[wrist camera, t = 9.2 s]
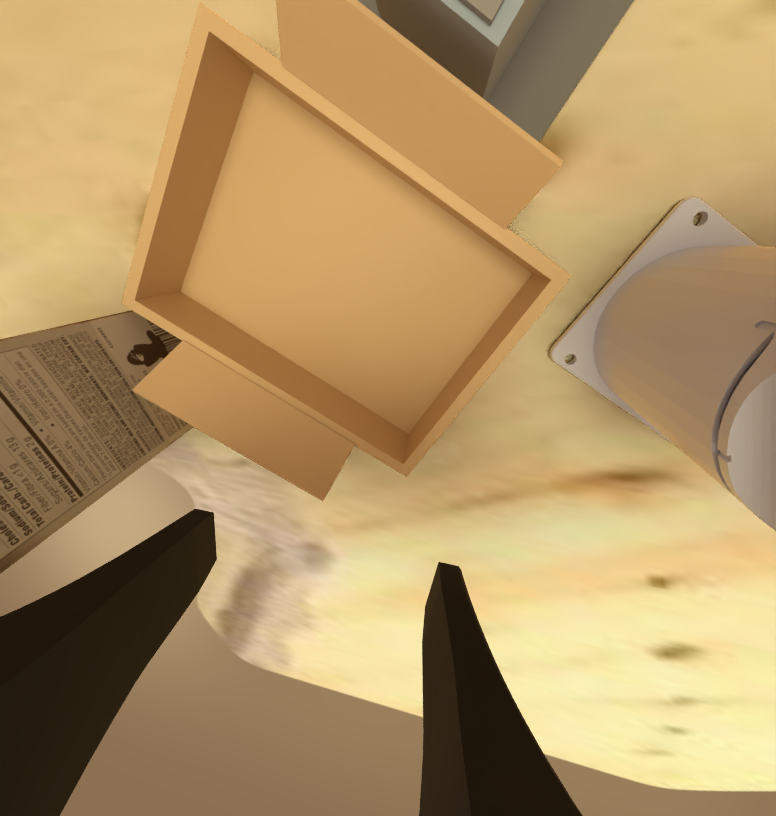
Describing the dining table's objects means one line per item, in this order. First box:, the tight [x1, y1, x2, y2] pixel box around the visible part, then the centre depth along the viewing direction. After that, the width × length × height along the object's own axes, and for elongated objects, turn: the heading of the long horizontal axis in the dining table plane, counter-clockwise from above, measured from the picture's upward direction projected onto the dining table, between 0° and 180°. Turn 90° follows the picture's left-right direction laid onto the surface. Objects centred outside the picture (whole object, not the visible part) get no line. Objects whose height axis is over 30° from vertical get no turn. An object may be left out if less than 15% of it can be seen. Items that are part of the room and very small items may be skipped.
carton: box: [121, 0, 572, 501], centre depth 15 cm, size 15×15×6 cm
